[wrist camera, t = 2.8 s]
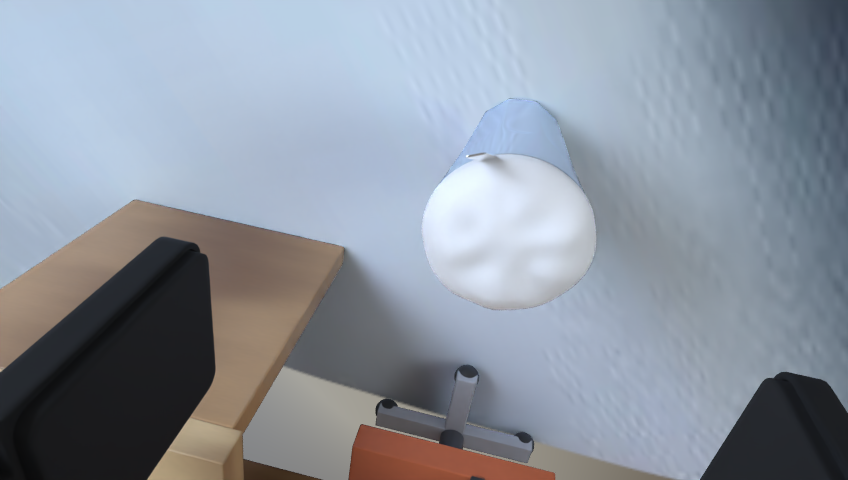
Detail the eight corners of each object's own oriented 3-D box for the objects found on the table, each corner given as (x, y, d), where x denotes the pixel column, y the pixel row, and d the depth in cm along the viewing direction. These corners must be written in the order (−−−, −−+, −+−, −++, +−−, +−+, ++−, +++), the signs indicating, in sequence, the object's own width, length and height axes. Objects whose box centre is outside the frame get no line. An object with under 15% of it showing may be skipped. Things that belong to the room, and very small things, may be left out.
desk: (351, 247, 25) (222, 464, 15) (328, 491, 35) (238, 729, 24) (128, 197, 26) (-136, 369, 16) (163, 447, 36) (9, 659, 25)
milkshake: (567, 44, 20) (587, 134, 11) (584, 183, 22) (612, 346, 13) (443, 71, 21) (375, 171, 12) (472, 199, 23) (431, 359, 15)
